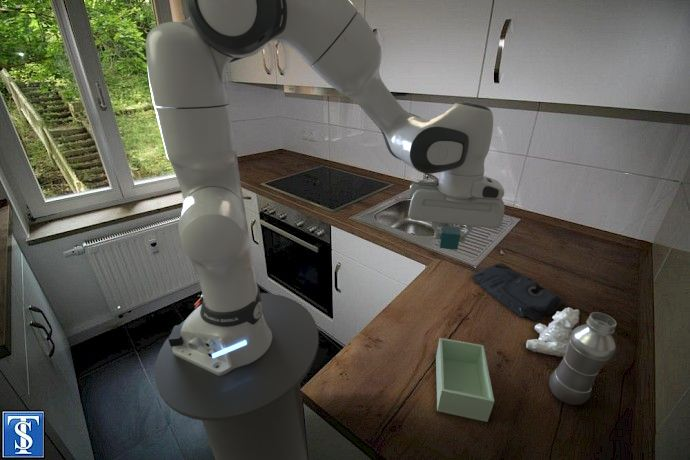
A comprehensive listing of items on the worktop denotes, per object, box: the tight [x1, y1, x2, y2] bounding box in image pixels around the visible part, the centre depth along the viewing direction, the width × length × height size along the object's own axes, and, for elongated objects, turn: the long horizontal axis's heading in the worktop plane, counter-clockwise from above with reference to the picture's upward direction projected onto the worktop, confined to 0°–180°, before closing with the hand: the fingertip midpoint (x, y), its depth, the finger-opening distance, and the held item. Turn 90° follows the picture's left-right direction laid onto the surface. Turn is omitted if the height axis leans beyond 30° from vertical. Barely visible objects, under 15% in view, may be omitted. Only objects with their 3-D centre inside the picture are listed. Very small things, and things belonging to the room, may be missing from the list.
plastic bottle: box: [548, 311, 617, 406], centre depth 58 cm, size 6×7×20 cm
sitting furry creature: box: [525, 306, 580, 358], centre depth 71 cm, size 10×9×12 cm
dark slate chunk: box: [471, 262, 565, 321], centre depth 91 cm, size 15×22×5 cm
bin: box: [435, 337, 496, 423], centre depth 63 cm, size 6×13×9 cm
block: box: [438, 225, 461, 251], centre depth 74 cm, size 4×4×4 cm
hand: (449, 239), depth 74 cm, fingers closed on block, 4 cm apart
